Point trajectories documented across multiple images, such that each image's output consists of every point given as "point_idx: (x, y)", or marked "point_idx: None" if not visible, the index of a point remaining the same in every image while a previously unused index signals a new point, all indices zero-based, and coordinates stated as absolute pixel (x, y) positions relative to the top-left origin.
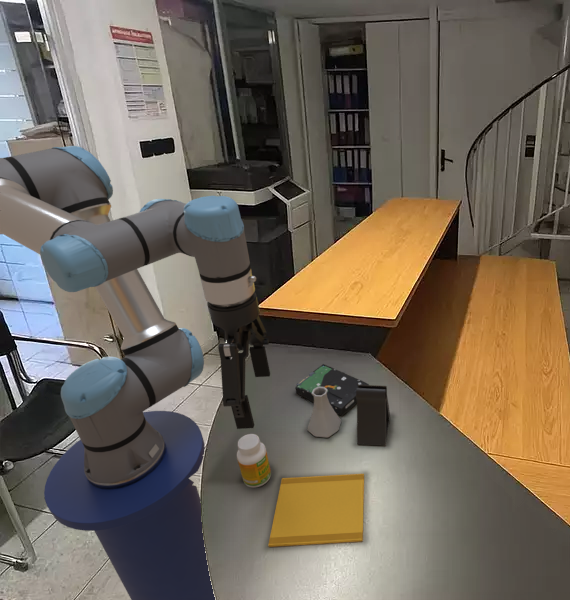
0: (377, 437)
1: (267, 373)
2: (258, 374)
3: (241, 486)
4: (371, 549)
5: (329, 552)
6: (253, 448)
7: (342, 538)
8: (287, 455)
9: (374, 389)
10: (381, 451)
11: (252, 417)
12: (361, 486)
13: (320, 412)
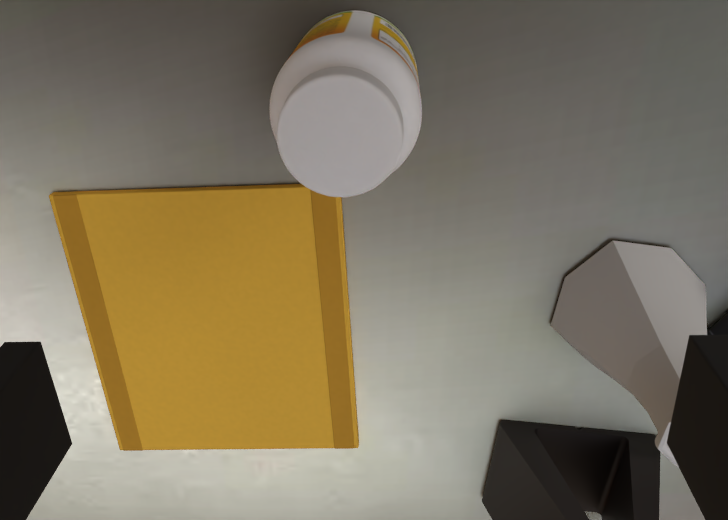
0: (499, 501)
1: (681, 458)
2: (696, 381)
3: (304, 11)
4: (103, 463)
5: (73, 367)
6: (294, 174)
7: (113, 404)
8: (472, 178)
9: None
10: (460, 485)
11: (31, 504)
12: (305, 442)
13: (623, 368)
